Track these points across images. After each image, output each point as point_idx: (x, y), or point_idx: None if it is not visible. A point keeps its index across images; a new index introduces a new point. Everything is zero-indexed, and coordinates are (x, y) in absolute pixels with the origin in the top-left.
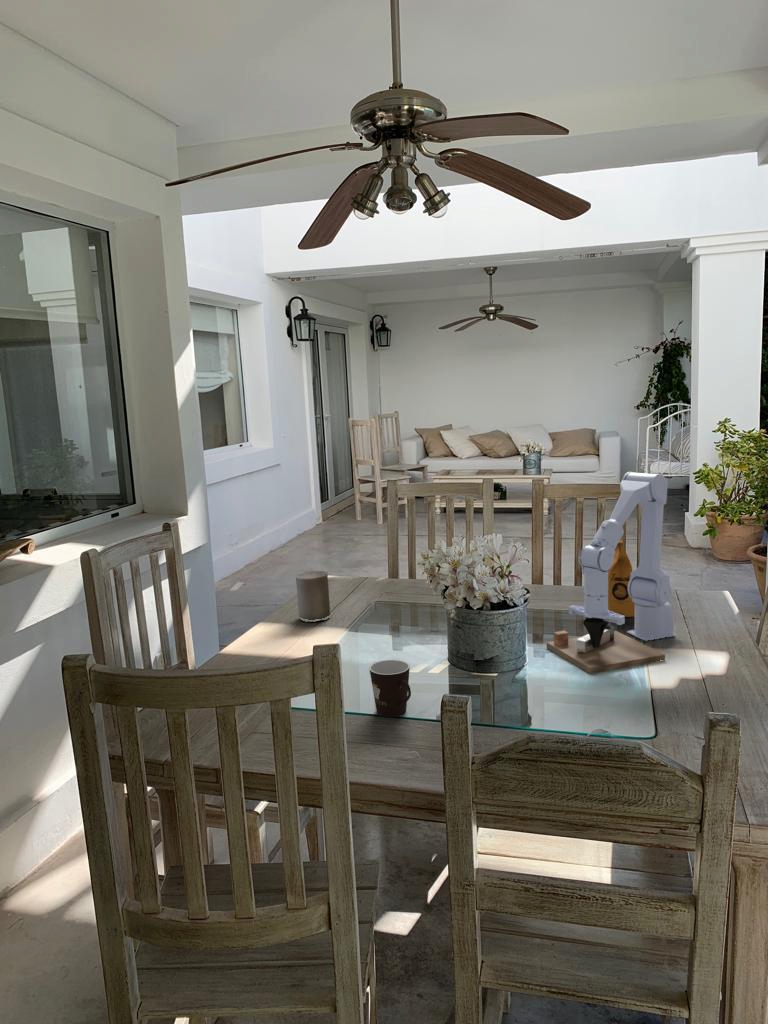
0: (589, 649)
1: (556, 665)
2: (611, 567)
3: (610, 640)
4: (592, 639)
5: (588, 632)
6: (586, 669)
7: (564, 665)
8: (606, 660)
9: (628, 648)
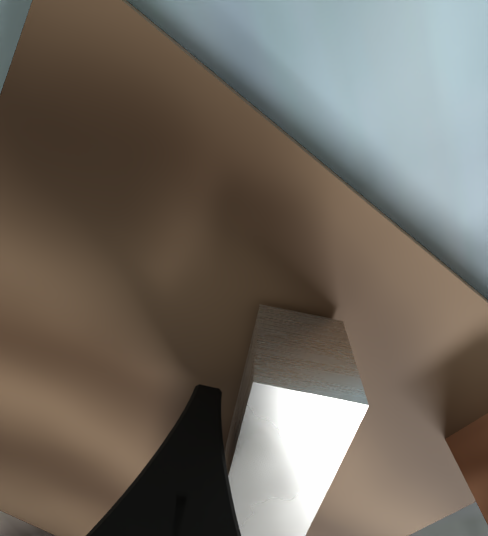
0: (244, 368)
1: (466, 41)
2: None
3: None
4: (199, 447)
5: (233, 533)
6: (135, 9)
7: (387, 84)
8: (51, 241)
9: (70, 473)
